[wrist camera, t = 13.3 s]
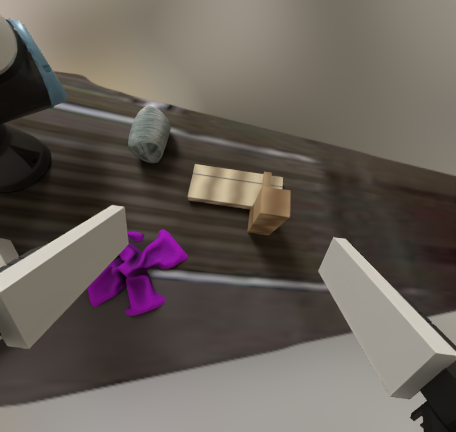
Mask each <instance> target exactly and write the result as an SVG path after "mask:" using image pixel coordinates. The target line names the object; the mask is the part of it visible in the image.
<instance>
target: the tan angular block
mask: <svg viewBox="0 0 456 432" xmlns="http://www.w3.org/2000/svg"><path fill="white" fill-rule="evenodd" d="M289 217H290V190H283V189H277V188H271V173H269V172H264V174H263V180H262V188H261V190H260V192H259V194H258V196H257V198H256V200H255V202H254V204H253V206H252V208H251V210H250V212H249V222H248V232H249V233H256V234H262V235H270V234H271V233H272V232H273V231H274V230H276V229H277V228H278V227H279V226H280V225H281V224H283V223H284V222H285V221H286V220H287V219H288V218H289Z"/></svg>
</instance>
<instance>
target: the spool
mask: <svg viewBox="0 0 456 432" xmlns="http://www.w3.org/2000/svg"><path fill="white" fill-rule="evenodd" d="M170 128H171V126H170V122H169V120H168V119H167V117H166V116H165V115H164V114H163V113H162V112H161V111H160V110H158V109H157V108H154V107H152V106H146V107H144V108H143V109H141V110H140V111H139V113H138V114H137V116H136V118H135V120H134V122H133V124H132V127H131V131H130V135H129V140H128V146H129V148H130V150H131V151H132V152H133V153H134V154H135V155H136V156H137V157H138V158H140V159H142V160H143V161H145V162H149V163H157V162H159V160H160V159H161V158H162V156H163V152H164V150H165V147H166V144H167V140H168V137H169V133H170Z"/></svg>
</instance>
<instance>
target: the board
mask: <svg viewBox="0 0 456 432" xmlns="http://www.w3.org/2000/svg"><path fill="white" fill-rule="evenodd" d="M262 180H263V174H257V173H250V172H244V171H237V170H230V169H224V168H217V167H210V166H203V165H197V164H195V167H194V171H193V176H192V180H191V185H190V189H189V193H188V199H189V201H196V202H203V203H210V204H217V205H223V206H230V207H237V208H244V209H251V208H252V206H253V204H254V202H255V200H256V198H257V196H258V194H259V192H260V190H261V188H262ZM282 183H283V177H277V176H271V188H277V189H282Z"/></svg>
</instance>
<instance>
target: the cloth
mask: <svg viewBox="0 0 456 432" xmlns="http://www.w3.org/2000/svg"><path fill="white" fill-rule="evenodd" d="M127 234H128V237H129V238H130V239H132V240H134V241H135V242H141V241H142V240H143V238H144V234H142V233H137V232H134V231H130V232H127ZM128 243H129V244H128V245H127V246H126V247H125V248H124V250H123V251H122V252H121V253H120V254H119V256H120V258H118V259H116V260H114V261H112V262H111V263H110V264H109V265H108V266H107V267H106V268H105V270H104V271H103V272H102V273H101V274H100V275H99V276H98V277H97V278H96V279H95V280H94V281H93V282H92V283H91V284H90V285H89V286H88V294H89V299H90V303H91V305H92V306H93V307H97V306H98V305H100V304H101V303H103V302H104V301H106V300H108V299H110V298H112V297H114V296H116V295H118V294H119V293H120V292H121V290H122V289H123V288H125V287H126V286H127V292H128V296H129V301H130V306H129V307H128V308H127V309H126V311H125V313H126V314H127V315H128V316H135V315H139V314H142V313H145V312H147V311H151V310H153V309H155V308H157V307H160V306H161V305H162V304H163V303H164V301H165V298H164V297H163V296H161V295H159V294H158V293H157V292H156V291H155V289H154V287H153V285H152V282H151V279H150V277H149V275H148V272H147V271H148V269H150V268H155V267H156V268H159V269H161V270H165V269H169V268H172V267H174V266H175V265H177V264H178V263H180V262H183V261H185V260H187V258H188V256H187V254H186V253H185V252H184V251H183V250H182V248H181V247H180V246H179V244H178V243H177V242H176V241H175V240H174V238H173V237H172V236H171V235H170V234H169V233H168V232H167V231H165V230H161V231H159V235H158V237H157V239H156V240H155V241H154V242H152V243H151V244H149V245H148V246H147V247H146V248H145V250H144V251H142V252H140V251H139V250H138V249H137V248H136V247H135V246H134V245H133V244H132V243H130V242H128Z"/></svg>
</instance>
